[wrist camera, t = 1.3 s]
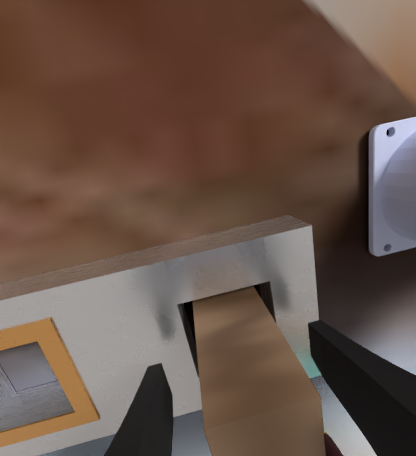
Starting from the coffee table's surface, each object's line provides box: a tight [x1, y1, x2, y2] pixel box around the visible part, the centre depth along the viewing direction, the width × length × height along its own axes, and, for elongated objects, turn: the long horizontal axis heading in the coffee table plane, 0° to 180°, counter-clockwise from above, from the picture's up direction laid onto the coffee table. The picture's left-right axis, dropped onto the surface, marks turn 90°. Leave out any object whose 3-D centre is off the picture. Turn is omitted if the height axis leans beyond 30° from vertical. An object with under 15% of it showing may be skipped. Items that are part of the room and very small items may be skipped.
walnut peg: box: [192, 285, 326, 456], centre depth 11 cm, size 4×4×8 cm
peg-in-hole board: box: [0, 215, 322, 456], centre depth 13 cm, size 22×10×3 cm, turn 102°
